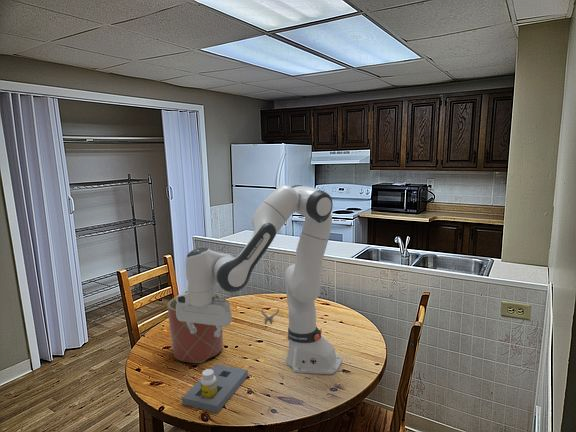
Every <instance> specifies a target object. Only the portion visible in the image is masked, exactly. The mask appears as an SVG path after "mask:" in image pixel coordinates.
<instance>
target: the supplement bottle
mask: <svg viewBox="0 0 576 432" xmlns="http://www.w3.org/2000/svg"><path fill="white" fill-rule="evenodd" d="M201 378H202V379H201ZM201 378H200V379H201V393H202V395H201V397H204V398H209V399H213V398H214V397H215V396H216V394H217V393H218V392H217V381H216V377H215V376H214V371H213V370H212V369H211V368H207V369H204V370H203V371H202V373H201Z"/></svg>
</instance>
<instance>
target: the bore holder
mask: <svg viewBox="0 0 576 432" xmlns="http://www.w3.org/2000/svg"><path fill="white" fill-rule="evenodd" d="M210 369H212V370H213V371H214V376H215V377H216V381H217V394H216V396H215V397H214V398H213V399H209V398H204V397H202V393H201V379H202V377H201V378H200V379H199V380H198V381H197V382H196V383H195V384H194V385H193V386H191V388H190V389H189V390H188V391H187V392H186V393H185V394H184V395H182V396H181V404H182V405H183V404H184V406H187V405H189V406H188V407H191V406H193V407H192V408H195V407H197V408H196V409H199V408H200V409H199V410H203V409H205V410H204V411H207V410H208V411H209V412H212V413H216V412H217V413H216V414H219V412H220V411H221V410H222V408H223V407H224V406H225V405H226V403H227V402H228V401H229V400H230V399H231V397H232V396H233V395H234V394H235V393H236V391H238V389H239V387H240V386H241V385H242V384H243V383H244V381H246V379H247V378H248V376H249V375H248V374H249V371H248V369H244V368H240V367H234V366H230V365H223V364H218V363H215V364H214V365H213V366H212V367H211V368H210ZM220 409H221V410H220Z"/></svg>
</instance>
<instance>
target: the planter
mask: <svg viewBox="0 0 576 432" xmlns="http://www.w3.org/2000/svg"><path fill="white" fill-rule="evenodd" d="M176 297H177V296H174V297H173V298H172V299H170V300H169V301H168V302H167V305H166V306H167V314H168V315H167V316H168V323H169V324H168V325H169V329H170V336H171V344H172V352H173V356H174V358H175V359H177V360H178V361H180V362H186V363H193V364H194V363H195V364H203V362H204V363H205V362H206V361H207V360H209V359H211V358H213V357H215V356H217V355H218V354H219V353H220V352H221V351H222V349H223V343H224V342H223V341H224V339H223V331H224V329H223V328H222V329H221V331H220V333H221V335H220V337H214V332H215V331H216V330H217V329H218V328H216V326H215V325H207V324H199V323H193V325H194V327H197V333H195V334H191V332H190V329H189V327H188V326H187V322H184V321H179V320H178V319H177V317H176V304H177V302H176ZM215 297H216V298H223V297H222V295H220V294H218V293H216V292H215Z"/></svg>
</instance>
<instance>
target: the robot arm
mask: <svg viewBox="0 0 576 432" xmlns="http://www.w3.org/2000/svg"><path fill="white" fill-rule="evenodd" d="M333 207H334V206H333V198H332V196H331V195H330V194H329V193H328V192H326V191H324V190H322V189H321V190H320V189H318V188H315V187H311V186H306V185H305V186H304V185H299V184H295V185H291V186H289V185H286V184H284V185H280V186H278V187H277V188H276V189H274V190H273V191H272V192H271V193H270V194H269V195H268V196H267V197H266V198H265V199H264V200H263V201H262V202H261V203H260V204H259V205H258V207H257V208H256V210H255V211H254V212H253V214H252V217H251V222H252V227H253V232H252V233H253V234H252V236H251V238H250V239H249V241H248V242H247V243H246V245H245V246H244V248H242V250H241V252H240V253H239V254H238V255H237V256H236V257H235V256H233V255H232V254H229V253H222V252H217V251H214V250H212V249H210V248H208V247H199V248H198V247H197V248H195V249H192V250H191V251H189V252H188V253H187V255H186V257H185V277H186V280H187V290H185V291H183V292H181V293H179V294H178V295H177V296H175V297H176V302H177V304H176V317H177V319H178V320H179V321H184V322H187V326H188V327H189V329H190V332H191V334H195V333H197V327H194V325H193V323H199V324H207V325H215V326H216V328H218V329H217V330H216V331H215V332H214V337H220V335H221V333H220V331H221V329H223V327H224V328H226V327H228V326H229V325H230V324H231V323H232V322H233V315H232V310H231V304H230V302H229V300H227V299H226V298H223V297H222V298H216V297H215V293H216V288H215V285H216V284H219V286H220V288H221V289H222V290H223V291H226V292H229V293H235V292H239V291H241V290H243V289H244V288H245V287H246V286H247V284H248V282H249V280H250V278H251V275H252V272H253V270H254V268H255V266H256V265H257V264H258V262H259V261H260V259H262V257H263V255H264V254H265V253H266V252H267V250H268V248H269V247H270V245H271V244H272V243H273V241H274V239H275V238H276V235H277V234H278V232H279V231H280V230H281V228H282V227H283V226H284V225H285V223H286V222H287V221H288V220H289V219H290V218H291V216H292V215H293V214H294V213H296V214H298V215H300V216H304V217H303V218H304V224H303V227H302V229H301V233H300V236H299V239H298V243H297V246H296V250H295V262H294V263H292V264H290V265H289V266H288V267H287V268H286V269H285V272H284V281H285V282H284V284H285V291H286V292H285V293H286V294H285V295H286V300H287V301H286V302H287V308H288V309H287V310H288V328H287V339H288V349H287V354H286V355H287V356H286V359H285V362H286V364H287V365H288V366H289V367H290V368H291V369H292V371H293V372H294V373H298V374H300V373H301V374H315V375H330V376H331V375H334V374H335V373H337V372H338V371H339V370H340V368H341V366H342V357H341V355H339V354H337V353H336V349H335V346H334V344H332V343H331V342H329V341H328V340H327V339H326V338H324V337H323V336H322V327H320V328H318V326H317V309H316V308H317V307H316V305H315V301H316V300H317V299H318V298H319V296H320V293H321V276H322V269H323V261H324V257H325V253H326V251H327V250H326V249H327V246H328V243H329V239H330V236H331V231H332V225H333V223H332V222H333V216H332V211H333Z"/></svg>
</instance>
